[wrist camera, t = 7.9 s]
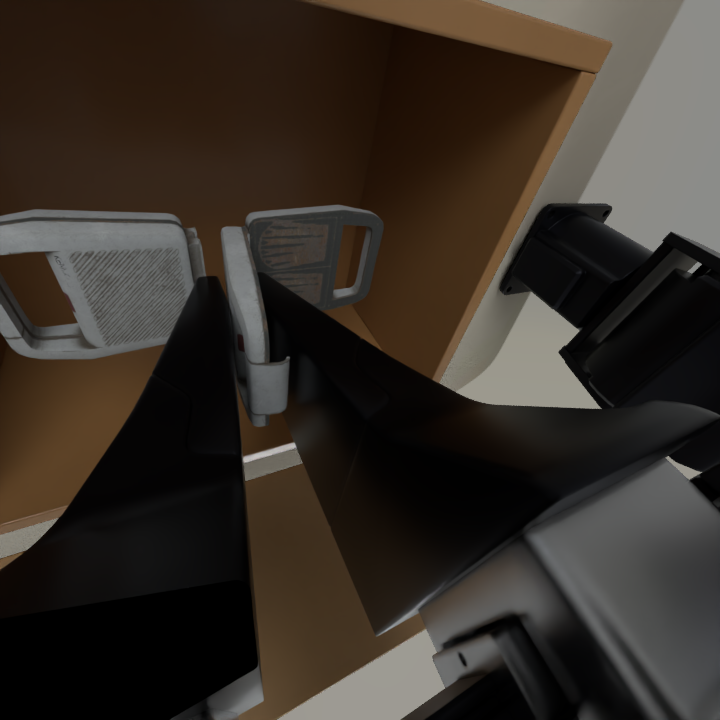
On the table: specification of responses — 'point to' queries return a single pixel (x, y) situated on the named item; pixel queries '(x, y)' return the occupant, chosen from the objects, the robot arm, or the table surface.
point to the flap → (303, 597)
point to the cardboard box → (268, 172)
